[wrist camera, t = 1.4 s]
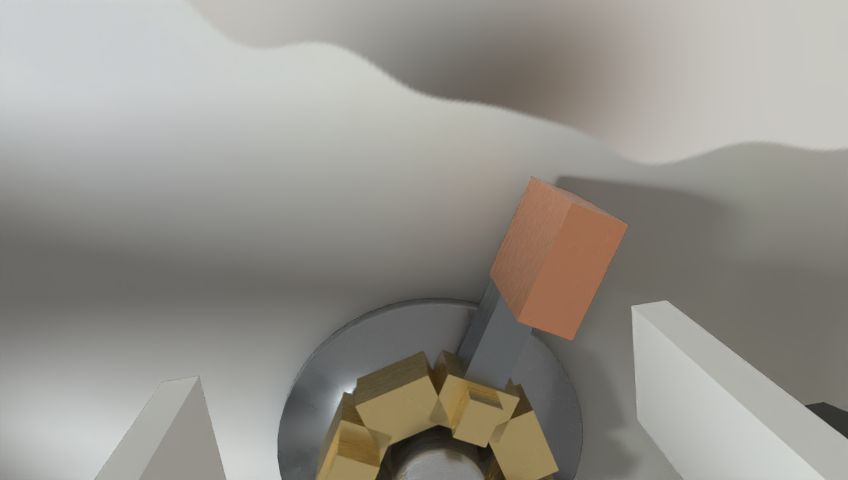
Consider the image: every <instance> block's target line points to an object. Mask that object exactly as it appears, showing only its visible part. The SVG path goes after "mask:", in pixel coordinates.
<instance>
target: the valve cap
mask: <svg viewBox="0 0 848 480" xmlns="http://www.w3.org/2000/svg"><path fill="white" fill-rule="evenodd" d="M478 307H479V304H476V303H473V302H468V301H461V300H454V299H434V298H429V299H419V300H409V301H405V302H400V303H396V304H391V305H388V306H385V307H382V308H379V309H377V310H374V311H371V312H369V313H367V314H365V315H363V316H361V317H359V318H357V319H355V320H353V321H351V322H349V323H348V324H347V325H345V326H344V327H342V328H341V329H339V330H338V331H336V332H335V333H333V334H332V335H331V336H330V337H329V338H328V339H327V340H326V341H324V342H323V343H322V344H321V345H320V346H319V347H318V348H317V349H316V350H315V352H314V353H313V354H312V355H311V356H310V357H309V359H308V360H307V361H306V362H305V364H304V365H303V367H302V369H301V370H300V372H299V373H298V375H297V376H296V378H295V380H294V382H293V385H292V387H291V389H290V391H289V393H288V396H287V400H286V403H285V406H284V409H283V413H282V417H281V420H280V426H279V433H278V463H279V469H280V475H281V478H282V480H315V479H316V472H317V465H318V458H319V452H320V449H321V447H322V444H323V442H324V439H325V437H326V434H327V432H328V430H329V427H330V425H331V422H332V420H333V417H334V415H335V412H336V410H337V407H338V405H339V402H340V400H341V398H342V395H343V393H344V392H347V393H350V394H353V395H356V382H357V379H358V378H360V377H363V376H365V375H367V374H370V373H372V372H374V371H377V370H379V369H381V368H384V367H386V366H388V365H391V364H393V363H395V362H398V361H400V360H402V359H405V358H407V357H410V356H412V355H414V354H417V353H419V352H421V351H424V352H425V355H426V357H427V359H428V361H429V363H430V365H431V367H432V370H434V367H435V365H436V363H437V361H438V358H439V356H440V354H441V351H442V350H445V351H448V352H450V353H453V354H456V355H457V354H458V352H459V349H460V347H461V345H462V343H463V340H464V338H465V336H466V334H467V331H468V329H469V327H470V325H471V322H472V320H473V318H474V316H475V313H476V311H477V309H478ZM510 377H511V380H512V382H513V384H514V386H515V385H518V384H520V383H521V385H522V388H523V390H524V392H525V394H526V396H527V398H528V400H529V402H530V404H531V406H532V409H533V411H534V413H535V415H536V418H537V420H538V422H539V425H540V427H541V430H542V432H543V434H544V437H545V439H546V441H547V444H548V446H549V448H550V451H551V453H552V455H553V458H554V460H555V463H556V465H557V467H558V470H559V471H557V472H554V473H552V475H553V477H554V479H555V480H573V479H574V477H575V474H576V471H577V467H578V463H579V460H580V455H581V447H582V419H581V412H580V406H579V403H578V400H577V397H576V393H575V390H574V388H573V386H572V384H571V382H570V380H569V378H568V376H567V374H566V372H565V370H564V369H563V367H562V366H561V364H560V363H559V361H558V360H557V358H556V357H555V356H554V354H553V353H552V351H551V350H550V349H549V348H548V347H547V345H546V344H545V343H544V342H543V341H542V340H541V339H540V338H539V337H538V336H537V335H536V334H534V333H533V332H532V331H531V333H530V335H529V338H528V340H527V342H526V344H525V346H524V348H523V350H522V352H521V355H520V357H519V359H518V361H517V363H516V365H515V367H514V369H513V372H512V374H511V376H510ZM494 455H495V454H494V452H493V450H492V448H491V446H490V443H489V442H488V444H487V446H486V448H485V447H482V446H478V445H475V444H472V443H469V442H466V441H463V440H459V439H456V438H453V436H452V431H451V428H448V427H445V426H442V425H439V424H438V425H436V426H433V427H431V428H429V429H426V430H424V431H421V432H419V433H417V434H414V435H412V436H410V437H407V438H405V439H402V440H400V441H398V442H395V443H393V444H391V445H388V447H387V450H386V452H385V454H384V457H383V459H382V461H381V464H380V469H379V471H378V474H379V476H380V478H381V480H485V478H484V476H485V473H486V471H487V469H488V467H489V465H490V463H491V461H492V459H493V457H494Z"/></svg>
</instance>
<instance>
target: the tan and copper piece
mask: <svg viewBox="0 0 848 480" xmlns="http://www.w3.org/2000/svg"><path fill="white" fill-rule="evenodd" d="M628 226H629V225H628V224H626V223H625V222H623V221H621V220H619V219H618V218H616V217H614V216H613V215H611V214H609V213H607V212H606V211H604V210H602V209H601V208H599V207H597V206H595V205H594V204H592V203H590V202H589V201H587V200H585V199H583V198H582V197H580V196H578V195H576V194H574V193H571V192H569V191H566V190H564V189H561V188H559V187H556V186H554V185H551V184H549V183H546V182H544V181H541V180H539V179H536V178H534V177H531V180H530V182H529V184H528V186H527V189H526V191H525V193H524V195H523V198H522V200H521V202H520V204H519V207H518V209H517V211H516V213H515V216H514V218H513V220H512V222H511V225H510V227H509V229H508V231H507V234H506V236H505V238H504V240H503V243H502V245H501V247H500V249H499V252H498V254H497V256H496V258H495V261H494V263H493V265H492V268H491V270H490V272H489V274H490V276H491V280H490V282H489V284H488V286H487V289H486V291H485V293H484V295H483V298H482V300H481V302H480V304H479V307H478V309H477V311H476V313H475V316H474V318H473V320H472V322H471V325H470V327H469V329H468V331H467V334H466V336H465V338H464V340H463V343H462V345H461V347H460V349H459V352H458V354H457V355H456V354H453V353H450V352H448V351H445V350H442V351H441V354H440V356H439V358H438V361H437V363H436V365H435V367H434V370H432V367H431V365H430V363H429V361H428V359H427V357H426V355H425V352H424V351H421V352H419V353H417V354H414V355H412V356H410V357H407V358H405V359H402V360H400V361H398V362H395V363H393V364H391V365H388V366H386V367H384V368H381V369H379V370H377V371H374V372H372V373H370V374H367V375H365V376H363V377H360V378H358V379H357V382H356V395H353V394H350V393H347V392H344V393H343V395H342V398H341V400H340V402H339V405H338V407H337V410H336V412H335V415H334V417H333V420H332V422H331V425H330V427H329V430H328V432H327V434H326V437H325V439H324V442H323V444H322V447H321V449H320V452H319V458H318V465H317V472H316V479H315V480H381V478H380V476H379V474H378V471H379V469H380V464H381V461H382V459H383V457H384V454H385V452H386V450H387V447H388V445H391V444H393V443H395V442H398V441H400V440H402V439H405V438H407V437H410V436H412V435H414V434H417V433H419V432H421V431H424V430H426V429H429V428H431V427H433V426H436V425H438V424H439V425H442V426H445V427H448V428H451V431H452V436H453V438H456V439H459V440H463V441H466V442H469V443H472V444H475V445H478V446H482V447H485V448H486V446H487V444H488V442H489V443H490V446H491V448H492V450H493V452H494V454H495V455H494V457H493V459H492V461H491V463H490V465H489V467H488V469H487V471H486V473H485V476H484V478H485V480H555V479H554V477H553V475H552V473H554V472H557V471H559V470H558V467H557V465H556V463H555V460H554V458H553V455H552V453H551V451H550V448H549V446H548V444H547V441H546V439H545V437H544V434H543V432H542V430H541V427H540V425H539V422H538V420H537V418H536V415H535V413H534V411H533V409H532V406H531V404H530V402H529V400H528V398H527V396H526V394H525V392H524V390H523V388H522V385H521V383H520V384H518V385H515V386H514V384H513V382H512V380H511V377H510V376H511V374H512V372H513V369H514V367H515V365H516V363H517V361H518V359H519V357H520V355H521V352H522V350H523V348H524V346H525V344H526V342H527V340H528V338H529V335H530V333H531V331H532V329H533V327H534V328H537V329H540V330H543V331H545V332H548V333H551V334H554V335H557V336H559V337H562V338H565V339H568V340H571V341H572V340H573V338H574V336H575V334H576V332H577V330H578V328H579V326H580V324H581V322H582V320H583V318H584V316H585V314H586V312H587V310H588V308H589V306H590V304H591V302H592V300H593V297H594V295H595V293H596V291H597V289H598V287H599V285H600V283H601V281H602V279H603V277H604V275H605V273H606V271H607V269H608V267H609V265H610V263H611V261H612V259H613V256H614V254H615V252H616V250H617V248H618V246H619V244H620V242H621V240H622V238H623V236H624V234H625V232H626V230H627V228H628Z"/></svg>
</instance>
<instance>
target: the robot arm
mask: <svg viewBox="0 0 848 480" xmlns="http://www.w3.org/2000/svg"><path fill="white" fill-rule="evenodd" d="M631 309H632V328H633V347H634V367H635V386H636V405H637V420H638V421H639V423H640V424H641V425H642V427H643V428H644V429H645V430H646V432H647V433H648V434H649V436H650V437H651V438H652V440H653V441H654V442H655V444H656V445H657V446H658V447H659V449H660V450H661V451H662V453H663V454H664V455H665V457H666V458H667V459H668V460H669V462H670V463H671V464H672V466H673V467H674V468H675V470H676V471H677V472H678V474H679V475H680V476H681V477H682V479H683V480H848V412H846V411H844V410H841V409H839V408H836V407H834V406H832V405H829V404H827V403H824V402H822V403H817V404H811V405H805V406H804V405H802V404H801V403H800V402H798V401H797V400H796V399H795V398H793V397H792V396H791V395H789V394H788V393H787V392H785V391H784V390H783V389H781V388H780V387H779V386H778V385H776V384H775V383H774V382H772V381H771V380H770V379H768V378H767V377H766V376H765V375H763V374H762V373H761V372H759V371H758V370H757V369H755V368H754V367H753V366H751V365H750V364H749V363H748V362H746V361H745V360H744V359H742V358H741V357H740V356H738V355H737V354H736V353H735V352H733V351H732V350H731V349H729V348H728V347H727V346H725V345H724V344H723V343H722V342H720V341H719V340H718V339H716V338H715V337H714V336H712V335H711V334H710V333H708V332H707V331H706V330H705V329H703V328H702V327H701V326H699V325H698V324H697V323H695V322H694V321H693V320H692V319H690V318H689V317H688V316H686V315H685V314H684V313H682V312H681V311H680V310H679V309H677V308H676V307H675V306H673V305H672V304H671V303H669V302H668V301H667V300H665V301H658V302H652V303H646V304H640V305H634V306H631ZM94 480H226V477H225V473H224V469H223V465H222V461H221V458H220V454H219V450H218V446H217V442H216V439H215V435H214V431H213V427H212V423H211V420H210V416H209V412H208V408H207V404H206V401H205V397H204V393H203V389H202V385H201V382H200V378H199V376H196V377H190V378H184V379H177V380H171V381H165V382H161V384H160V385H159V387H158V388H157V390H156V391H155V393H154V394H153V395H152V397H151V398H150V400H149V401H148V403H147V404H146V406H145V407H144V408H143V410H142V411H141V413H140V414H139V416H138V417H137V419H136V420H135V421H134V423H133V424H132V426H131V427H130V429H129V430H128V431H127V433H126V434H125V436H124V437H123V439H122V440H121V442H120V443H119V444H118V446H117V447H116V449H115V450H114V452H113V453H112V455H111V456H110V457H109V459H108V460H107V462H106V463H105V465H104V466H103V468H102V469H101V470H100V472H99V473H98V475H97V476H96V478H95V479H94Z"/></svg>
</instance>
